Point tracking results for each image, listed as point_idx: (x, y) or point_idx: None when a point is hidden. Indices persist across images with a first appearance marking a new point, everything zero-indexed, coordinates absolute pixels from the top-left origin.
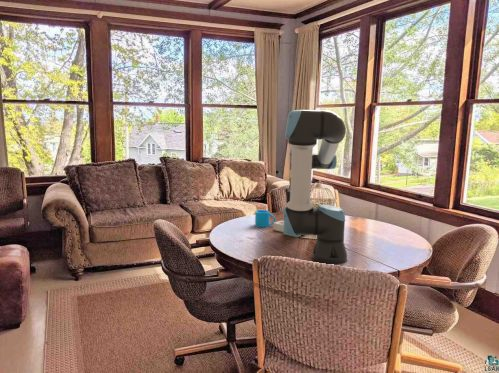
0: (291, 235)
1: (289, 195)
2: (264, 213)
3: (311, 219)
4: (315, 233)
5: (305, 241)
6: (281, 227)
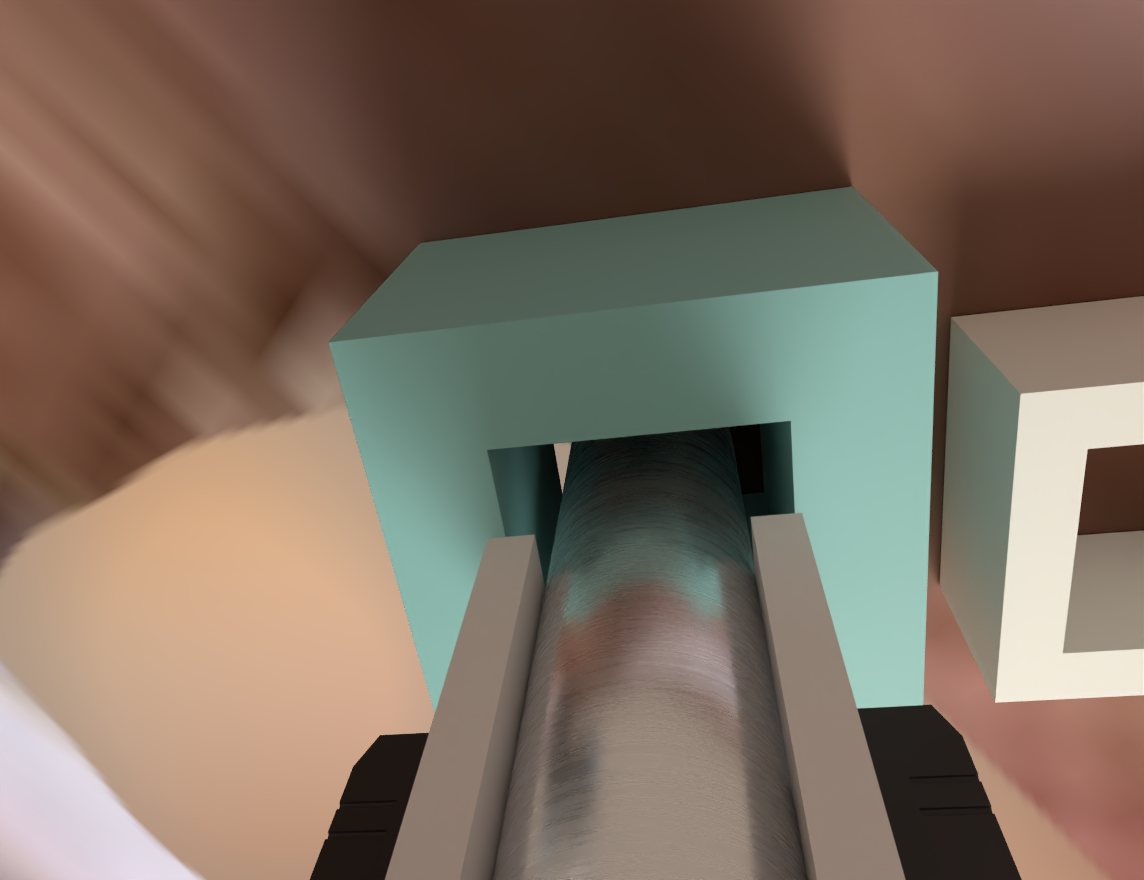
0: (588, 225)
1: None
2: None
3: None
4: None
5: (64, 153)
6: (1083, 346)
